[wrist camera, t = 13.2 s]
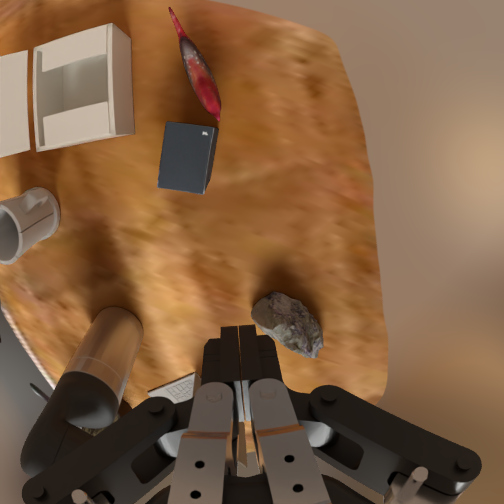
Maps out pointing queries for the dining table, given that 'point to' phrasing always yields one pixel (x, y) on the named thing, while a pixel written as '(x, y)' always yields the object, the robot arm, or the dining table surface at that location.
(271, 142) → the dining table surface
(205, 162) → the box
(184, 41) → the decorative bird figurine
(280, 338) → the mineral rock
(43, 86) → the carton
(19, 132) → the flap
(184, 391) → the laptop
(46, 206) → the cup
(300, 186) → the dining table surface
